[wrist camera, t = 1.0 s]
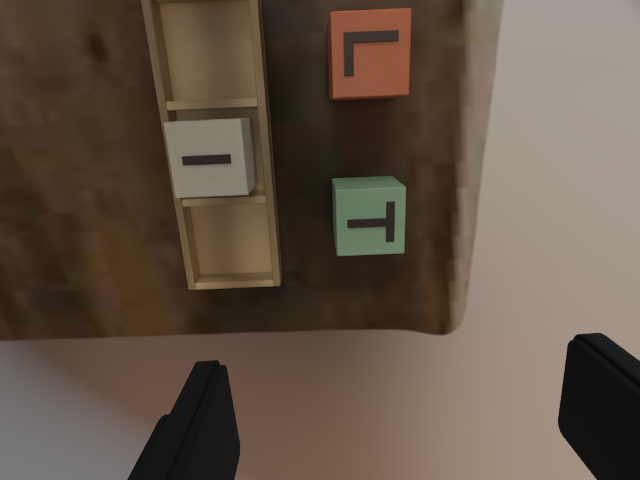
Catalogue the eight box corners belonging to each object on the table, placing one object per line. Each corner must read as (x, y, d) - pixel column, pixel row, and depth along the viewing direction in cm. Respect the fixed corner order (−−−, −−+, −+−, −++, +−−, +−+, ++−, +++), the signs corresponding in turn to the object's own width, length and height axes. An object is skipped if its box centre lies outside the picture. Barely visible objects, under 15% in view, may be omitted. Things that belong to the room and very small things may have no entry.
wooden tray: (196, 278, 34) (188, 290, 32) (152, -4, 27) (138, -14, 25) (282, 275, 34) (280, 286, 32) (260, -8, 27) (255, -19, 25)
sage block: (333, 235, 33) (337, 257, 28) (331, 178, 32) (335, 190, 27) (391, 233, 33) (404, 254, 28) (392, 175, 32) (406, 187, 27)
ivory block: (196, 185, 31) (174, 198, 26) (186, 120, 29) (162, 122, 25) (258, 182, 31) (247, 195, 26) (252, 117, 29) (240, 118, 25)
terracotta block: (329, 100, 30) (332, 98, 25) (326, 28, 28) (330, 10, 23) (393, 98, 30) (409, 95, 25) (395, 25, 28) (412, 7, 23)
